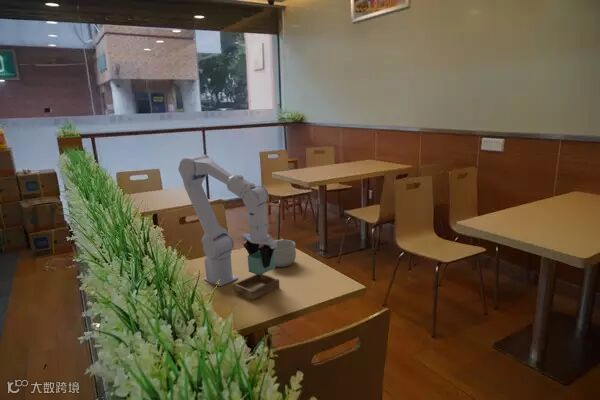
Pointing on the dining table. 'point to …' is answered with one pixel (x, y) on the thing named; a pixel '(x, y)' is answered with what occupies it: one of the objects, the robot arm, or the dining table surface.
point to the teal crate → (259, 263)
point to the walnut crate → (256, 286)
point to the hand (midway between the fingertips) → (260, 264)
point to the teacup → (284, 253)
